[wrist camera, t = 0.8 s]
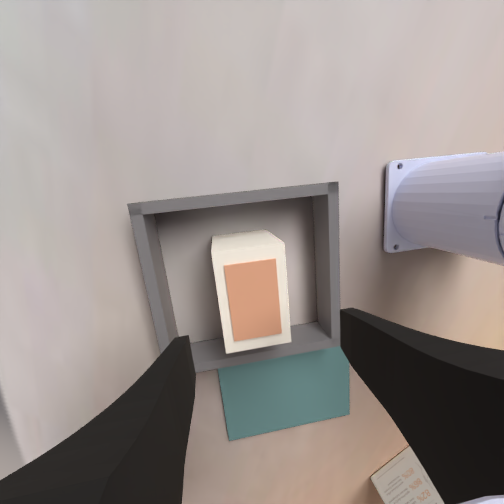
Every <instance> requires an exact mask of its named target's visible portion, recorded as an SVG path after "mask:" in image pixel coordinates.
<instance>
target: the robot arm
mask: <svg viewBox="0 0 504 504" xmlns="http://www.w3.org/2000/svg"><path fill="white" fill-rule="evenodd" d="M398 164H399V169H397V165H398ZM395 245H396V247H395V249H394V246H395ZM430 247H431V248H435V249H439V250H443V251H447V252H451V253H455V254H459V255H463V256H467V257H471V258H475V259H479V260H483V261H487V262H491V263H495V264H499V265H503V266H504V151H502V152H495V153H489V154H487V153H486V152H478V153H468V154H457V155H447V156H437V157H427V158H417V159H406V160H396V161H391V162H389V163H388V164H387V166H386V189H385V221H384V251H385V252H387V253H395V252H402V251H409V250H416V249H423V248H430ZM340 347H341V349H342V351H343V352H344V354H345V356H346V358H347V359H348V361H349V363H350V364H351V366H352V367H353V368H354V370H355V371H356V372H357V374H358V375H359V376H360V377H361V379H362V380H363V381H364V383H365V384H366V385H367V386H368V388H369V389H370V390H371V391H372V393H373V394H374V395H375V397H376V398H377V399H378V400H379V402H380V403H381V404H382V405H383V407H384V408H385V409H386V411H387V412H388V413H389V415H390V416H391V418H392V419H393V421H394V422H395V424H396V425H397V427H398V428H399V430H400V431H401V433H402V434H403V436H404V437H405V439H406V441H407V442H408V444H409V445H410V447H411V449H412V450H413V452H414V453H415V455H416V457H417V458H418V460H419V461H420V463H421V465H422V466H423V468H424V470H425V471H426V473H427V475H428V476H429V478H430V480H431V481H432V483H433V485H434V487H435V488H436V490H437V492H438V493H439V495H440V497H441V499H442V500H443V502H444V504H504V350H497V349H491V348H485V347H480V346H475V345H470V344H465V343H460V342H456V341H452V340H448V339H444V338H440V337H436V336H433V335H429V334H426V333H422V332H419V331H416V330H413V329H410V328H407V327H404V326H401V325H398V324H396V323H393V322H390V321H388V320H385V319H382V318H380V317H377V316H374V315H372V314H369V313H366V312H364V311H361V310H358V309H354V308H348V309H342V310H340ZM195 382H196V373H195V367H194V362H193V356H192V351H191V346H190V340H189V335H187V336H181V337H175V338H174V339H173V340H172V341H171V343H170V344H169V345H168V346H167V347H166V349H165V350H164V351H163V352H162V353H161V355H160V356H159V357H158V358H157V359H156V361H155V362H154V363H153V364H152V365H151V366H150V367H149V368H148V369H147V371H146V372H145V373H144V374H143V375H142V376H141V377H140V378H139V379H138V380H137V381H136V382H135V383H134V384H133V385H132V386H131V387H130V388H129V389H128V390H127V391H126V392H125V393H124V394H123V395H121V396H120V397H119V398H118V399H117V400H116V401H115V402H114V403H112V404H111V405H110V406H109V407H108V408H106V409H105V410H104V411H103V412H101V413H100V414H99V415H98V416H96V417H95V418H94V419H92V420H91V421H90V422H89V423H87V424H86V425H85V426H84V427H82V428H81V429H79V430H78V431H77V432H75V433H74V434H72V435H71V436H70V437H68V438H67V439H65V440H64V441H62V442H61V443H59V444H58V445H56V446H55V447H53V448H52V449H51V450H49V451H47V452H46V453H44V454H43V455H41V456H40V457H38V458H37V459H35V460H33V461H32V462H30V463H28V464H27V465H25V466H23V467H22V468H20V469H18V470H17V471H15V472H13V473H12V474H10V475H8V476H7V477H5V478H4V479H2V480H0V504H182V491H183V477H184V464H185V456H186V449H187V443H188V437H189V430H190V424H191V418H192V412H193V405H194V399H195Z"/></svg>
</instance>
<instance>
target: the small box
mask: <svg viewBox="0 0 504 504" xmlns="http://www.w3.org/2000/svg"><path fill="white" fill-rule="evenodd" d="M371 480H372V482H373V484H374V486H375V488H376V490H377V491H378V493H379V495H380V497H381V498H382V500H383V502H384V504H444V502H443V500H442V499H441V497H440V495H439V493H438V492H437V490H436V488H435V487H434V485H433V483H432V481H431V480H430V478H429V476H428V475H427V473H426V471H425V470H424V468H423V466H422V465H421V463H420V461H419V460H418V458H417V457H416V455H415V453H414V452H413V450H412V449H411V447H410V446H408V447H407V448H406V449H405V450H403V451H402V452H401V453H400V454H398V455H397V456H396V457H395V458H393V459H392V460H391V461H390V462H388V463H387V464H386V465H385V466H383V467H382V468H381V469H380V470H378V471H377V472H376V473H375V474H373V475H372V476H371Z"/></svg>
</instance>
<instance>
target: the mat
mask: <svg viewBox="0 0 504 504" xmlns="http://www.w3.org/2000/svg"><path fill="white" fill-rule="evenodd" d="M218 374H219V380H220V386H221V393H222V399H223V405H224V411H225V418H226V424H227V430H228V436H229V441H231V440H236V439H240V438H245V437H249V436H254V435H258V434H263V433H268V432H272V431H277V430H281V429H286V428H290V427H295V426H299V425H304V424H308V423H313V422H317V421H322V420H326V419H331V418H336V417H340V416H345V415H349V414H350V411H349V361H348V359H347V358H346V356H345V354H344V352H343V351H342V349H341V347H340V346H337V347H332V348H327V349H321V350H316V351H310V352H305V353H300V354H294V355H289V356H284V357H278V358H273V359H267V360H262V361H257V362H251V363H246V364H241V365H235V366H230V367H224V368H219V369H218Z"/></svg>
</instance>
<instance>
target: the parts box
mask: <svg viewBox="0 0 504 504" xmlns="http://www.w3.org/2000/svg"><path fill="white" fill-rule="evenodd" d="M211 254H212V261H213V268H214V275H215V282H216V288H217V295H218V302H219V309H220V315H221V322H222V329H223V336H224V343H225V349H226V354H228V353H233V352H239V351H244V350H250V349H255V348H261V347H267V346H272V345H278V344H283V343H289V342H291V329H290V315H289V301H288V286H287V272H286V258H285V244H284V242H283V241H281V240H280V239H278V238H277V237H276V236H274V235H273V234H271V233H270V232H269V231H267V230H266V229H264V230H256V231H248V232H240V233H232V234H224V235H216V236H213V237H212V249H211Z"/></svg>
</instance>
